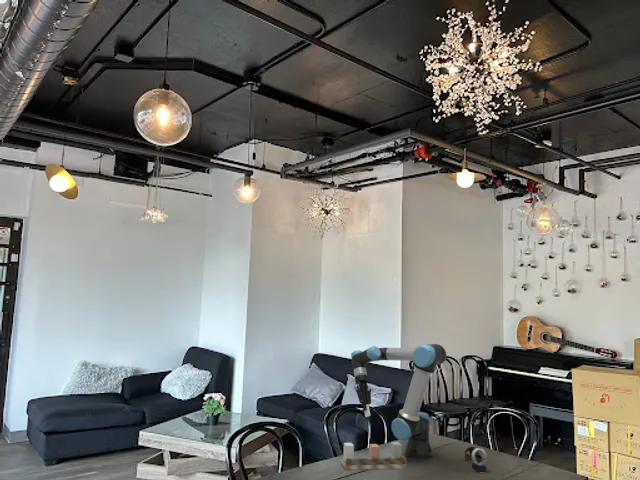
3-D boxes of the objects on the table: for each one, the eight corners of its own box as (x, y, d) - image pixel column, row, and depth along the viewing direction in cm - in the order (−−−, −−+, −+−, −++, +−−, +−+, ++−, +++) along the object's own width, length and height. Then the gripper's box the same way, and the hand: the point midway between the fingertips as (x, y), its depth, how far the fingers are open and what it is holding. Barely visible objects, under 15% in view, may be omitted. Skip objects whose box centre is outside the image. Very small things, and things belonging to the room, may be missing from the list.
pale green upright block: (397, 457, 252) (398, 442, 253) (401, 460, 247) (401, 444, 248) (390, 457, 251) (391, 442, 252) (393, 460, 246) (394, 444, 247)
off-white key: (350, 458, 247) (351, 442, 248) (353, 461, 242) (353, 445, 243) (343, 458, 246) (343, 442, 247) (345, 462, 241) (346, 445, 243)
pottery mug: (487, 464, 255) (480, 451, 254) (470, 471, 256) (464, 458, 255) (480, 452, 267) (474, 439, 266) (465, 458, 268) (459, 446, 267)
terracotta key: (376, 460, 246) (376, 444, 248) (379, 463, 242) (379, 446, 243) (369, 460, 246) (369, 444, 247) (371, 463, 241) (372, 447, 242)
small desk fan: (489, 472, 241) (488, 449, 243) (476, 473, 239) (476, 450, 240) (482, 468, 246) (481, 446, 248) (469, 469, 244) (469, 447, 245)
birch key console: (399, 461, 252) (399, 450, 253) (406, 468, 242) (406, 456, 243) (341, 463, 246) (341, 451, 247) (346, 470, 236) (346, 457, 237)
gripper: (363, 380, 287) (370, 419, 273) (348, 376, 280) (355, 417, 265) (372, 376, 284) (380, 415, 269) (358, 372, 276) (365, 412, 261)
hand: (367, 416), depth 267 cm, fingers closed
